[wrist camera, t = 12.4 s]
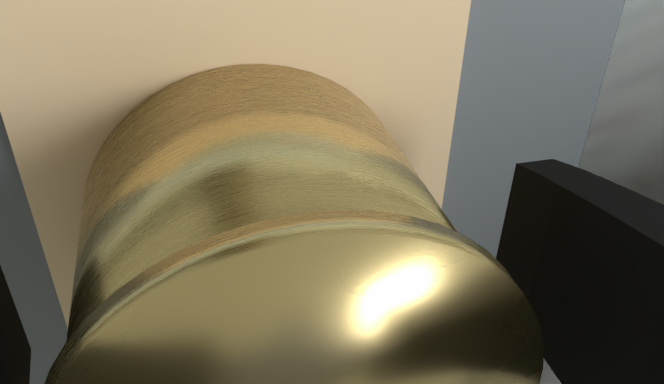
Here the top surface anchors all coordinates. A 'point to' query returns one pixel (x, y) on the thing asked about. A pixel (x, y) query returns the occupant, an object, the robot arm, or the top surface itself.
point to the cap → (279, 250)
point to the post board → (298, 52)
